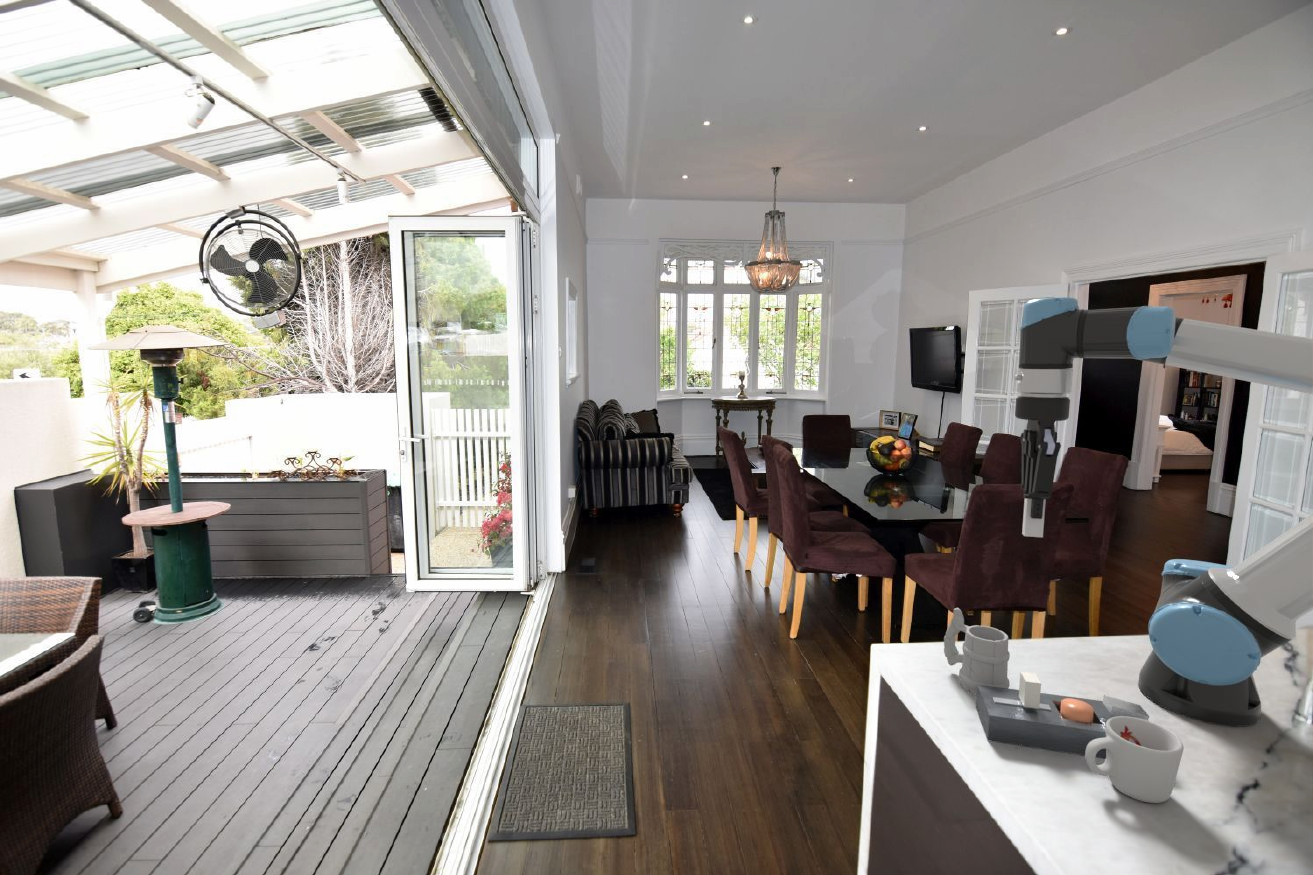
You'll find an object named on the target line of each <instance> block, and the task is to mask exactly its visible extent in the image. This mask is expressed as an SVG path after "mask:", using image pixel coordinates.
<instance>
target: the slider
mask: <svg viewBox="0 0 1313 875" xmlns="http://www.w3.org/2000/svg"><path fill="white" fill-rule="evenodd" d="M1041 689H1042V682H1041V681H1040V679H1039V678H1038V676H1037V674H1036V673H1033V672H1026V671H1020V674H1019V687H1018V690H1019V698H1020V700H1021V702H1022V704H1023V706H1024V707H1030V708H1037V709H1039V704H1040V693H1042V690H1041Z"/></svg>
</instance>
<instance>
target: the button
mask: <svg viewBox="0 0 1313 875" xmlns="http://www.w3.org/2000/svg"><path fill="white" fill-rule="evenodd" d="M1093 713H1094V709H1093V707H1092V706H1090V705H1089V704H1087V703H1085V702H1083V701H1080V700H1077V699H1071V698H1066V699H1063V700H1062V701H1061V710H1060V715H1061V716H1062V718H1063V719H1068V720H1075V721H1082V722H1089V723H1093Z"/></svg>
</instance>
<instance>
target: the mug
mask: <svg viewBox="0 0 1313 875" xmlns="http://www.w3.org/2000/svg"><path fill="white" fill-rule="evenodd" d="M960 632H963V633H965V637H964V642H963V643H962V648H961V649H962V652H963V653H960V651H959V650H958V648H957V646H956V638H957V635H958V634H959V633H960ZM943 652H944V657H945V658H946V660H947V663H948V665H949V666H954V665H956V664H957V663H958V664H959V663H961V664H962V665H961V668H960V669H959V671H958V676H959V679H960V686H961V687H962V689H964V690H965V691H966V692H970V693H971V694H972V695H974V696H977V684H978V685H986V686H993V687H1001V688H1008V689H1010V680H1009V679H1010V678H1008V671H1009V670H1008V666H1009V665H1008V664H1009V660H1010V651H1009V635H1008V634H1006V632H1004V631H1003V630H999V629H998V628H995V627H991V626H987V625H977V624H975V625H971V626H969V625H966V624H965V619H964V615H963V611H962V610H961V609H960V608H959V607H956V608H954V609H953V615H952V618H951V619H950V622H949V625H948V627H947V630H946V632H945V635H944V637H943Z"/></svg>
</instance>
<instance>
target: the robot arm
mask: <svg viewBox="0 0 1313 875" xmlns="http://www.w3.org/2000/svg"><path fill="white" fill-rule="evenodd" d="M1021 318H1022V319H1021V325H1020V328H1019V331H1020V334H1019V335H1020V337H1019V357H1018V358H1019V359H1018V370H1017V371H1018V372H1017V374H1015V375H1013V379H1014V381H1017V386H1016V387H1017V388H1016V392H1018V393H1020V395H1018V396H1017V397H1016V398H1015V410H1014V411H1015V412H1014V416H1015V417H1016V419H1019V420H1025V421H1027V423H1026V429H1023V432H1021V433H1020V443H1021V484H1020V487H1021V490H1023V499H1024V500H1023V501H1024V503H1023V517H1022V518H1023V519H1022V528H1021V529H1022V532H1021V534H1022V535H1023V537H1028V538H1029V537H1032V538H1033V537H1034V538H1044V528H1045V527H1044V526H1045V513H1046V503H1047V502H1046V500H1047V499H1051V497H1052V492H1053V485H1054V479H1055V474H1056V467H1057V461H1058V456H1059V452H1060V450H1061V447H1062V445H1061V442H1058V432H1057V431H1056V427H1055V423H1056V422H1057V421H1058V422H1061V421H1067V420H1068V419H1069V417H1070V408H1071V405H1070V404H1071V399H1070V398H1069V397H1068V396H1067V395H1069V394H1071V393H1072V389H1073V377H1074V367H1073V366H1074V360H1075V359H1133V360H1134V359H1135V360H1139V361H1143V362H1149V363H1154V364H1157V365H1158V364H1159V365H1165V366H1170V367H1175V368H1176V367H1177V368H1181V369H1185V370H1191V371H1196V372H1200V373H1205V374H1210V375H1215V376H1219V377H1224V378H1229V379H1235V380H1240V381H1245V382H1249V383H1254V384H1260V385H1264V386H1269V387H1275V388H1279V389H1284V390H1290V391H1294V392H1299V393H1302V394H1303V393H1304V394H1308V395H1313V338H1311V337H1305V336H1303V337H1302V336H1296V335H1292V334H1291V335H1290V334H1286V333H1280V332H1278V333H1277V332H1272V331H1267V330H1260V329H1253V328H1247V327H1240V326H1235V325H1234V326H1233V325H1227V324H1220V323H1215V322H1209V321H1204V320H1195V319H1189V318H1182V317H1177V316H1176V311H1175V310H1174V309H1173V308H1172V307H1169V306H1152V305H1151V306H1149V305H1143V306H1136V307H1135V306H1134V307H1119V308H1118V307H1117V308H1100V309H1081V308H1080V306H1079V302H1078V300H1077V298H1075V297H1063V296H1062V297H1046V298H1035V299H1030V300H1029V301H1027V302H1025V304H1024V305H1023V310H1022V317H1021ZM1161 576H1162V582H1161V589H1160V596H1159V599H1158V601H1157V604H1156V606H1155V609H1154V611H1153V613H1152V614H1151V616H1150V618H1149V621H1148V629H1147V630H1148V636H1149V642H1150V645H1151V647H1152V650H1151V652H1150V654H1149V655H1148V657H1147V659H1146V660H1145V662H1144V664H1143V665H1142V667H1141V668H1140V671H1139V672H1138V673H1139V675H1138V682H1137V683H1138V689H1139V690H1140V692H1141V693H1142V694H1143V695H1145V697H1146V698H1148V699H1149V700H1150V701H1152V702H1153V703H1155V704H1157V705H1159V706H1160V707H1163V708H1164V709H1166V710H1169V711H1171V712H1174V713H1175V714H1178V715H1181V716H1184V717H1186V718H1190V719H1192V720H1197V721H1201V722H1204V723H1208V724H1214V725H1220V726H1227V727H1247V726H1253V725H1256V724H1257V723H1259V721H1260V719H1261V714H1262V701H1261V698H1260V695H1259V691H1258V688H1257V685H1256V682H1255V678H1254V673H1255V671H1257V670H1258V669H1257V668H1258V667H1259V666H1260V664H1261V659H1262V658H1263V657H1265V656H1267V655H1268V654H1270V653H1272V652H1273V651H1275V650H1277V649H1278V648H1281V647H1282V646H1283V645H1285V644H1287V643H1289V642H1290V641H1292V640H1294V639H1295V638H1296V637H1297V630H1296V625H1297V624H1296V623H1297V620H1299V619H1300V618H1301V617H1303V616H1305V615H1307V614H1308V613H1310V612H1312V611H1313V512H1312V513H1311V514H1310V515H1308V516H1307V517H1305V518H1303V520H1301V521H1300V522H1298V523H1296V524H1295V525H1294V526H1292V527H1290V528H1289V529H1288V530H1286V531H1285V532H1283V533H1282V534H1280V535H1279V536H1278V537H1275V539H1273V540H1272V541H1270V542H1269V543H1268V544H1266V545H1264V546H1263V547H1261V548H1260V549H1258V550H1257V551H1255V553H1252V554H1251V555H1250V556H1248V557H1247V558H1246V559H1244V560H1242V561H1241V562H1240V563H1239V564H1237V565H1235V566H1229V565H1226V564H1220V563H1214V562H1210V561H1209V562H1208V561H1202V560H1194V559H1193V560H1192V559H1183V558H1182V559H1181V558H1180V559H1179V558H1175V559H1169V560H1167V561H1166V562H1165V563H1164V566H1163V571H1162V572H1161Z"/></svg>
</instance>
